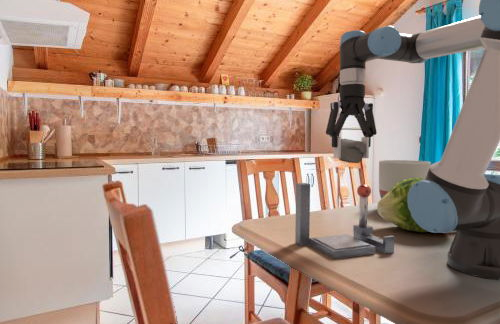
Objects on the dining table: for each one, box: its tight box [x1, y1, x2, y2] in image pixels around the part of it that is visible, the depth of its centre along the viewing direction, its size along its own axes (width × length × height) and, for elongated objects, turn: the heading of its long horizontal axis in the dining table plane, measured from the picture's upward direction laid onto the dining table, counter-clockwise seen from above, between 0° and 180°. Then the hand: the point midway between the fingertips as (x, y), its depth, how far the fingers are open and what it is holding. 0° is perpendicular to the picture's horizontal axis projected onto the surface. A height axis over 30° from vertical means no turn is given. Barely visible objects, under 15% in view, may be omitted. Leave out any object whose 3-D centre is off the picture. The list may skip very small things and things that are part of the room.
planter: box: [378, 159, 432, 200], centre depth 155 cm, size 20×20×21 cm
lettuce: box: [376, 178, 429, 233], centre depth 121 cm, size 19×23×18 cm
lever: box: [352, 183, 374, 235], centre depth 108 cm, size 4×4×15 cm
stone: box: [338, 138, 365, 164], centre depth 111 cm, size 9×9×10 cm
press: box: [294, 182, 395, 260], centre depth 102 cm, size 17×22×18 cm
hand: (351, 158), depth 110 cm, fingers closed on stone, 9 cm apart
